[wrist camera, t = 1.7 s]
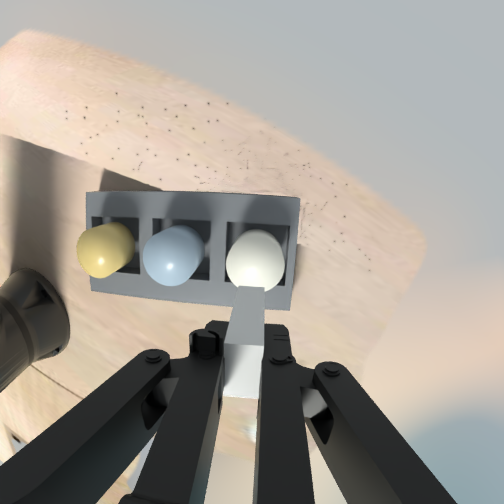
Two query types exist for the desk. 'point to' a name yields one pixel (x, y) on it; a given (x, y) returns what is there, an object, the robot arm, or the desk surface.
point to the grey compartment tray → (211, 231)
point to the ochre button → (105, 249)
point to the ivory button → (255, 260)
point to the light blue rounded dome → (173, 255)
